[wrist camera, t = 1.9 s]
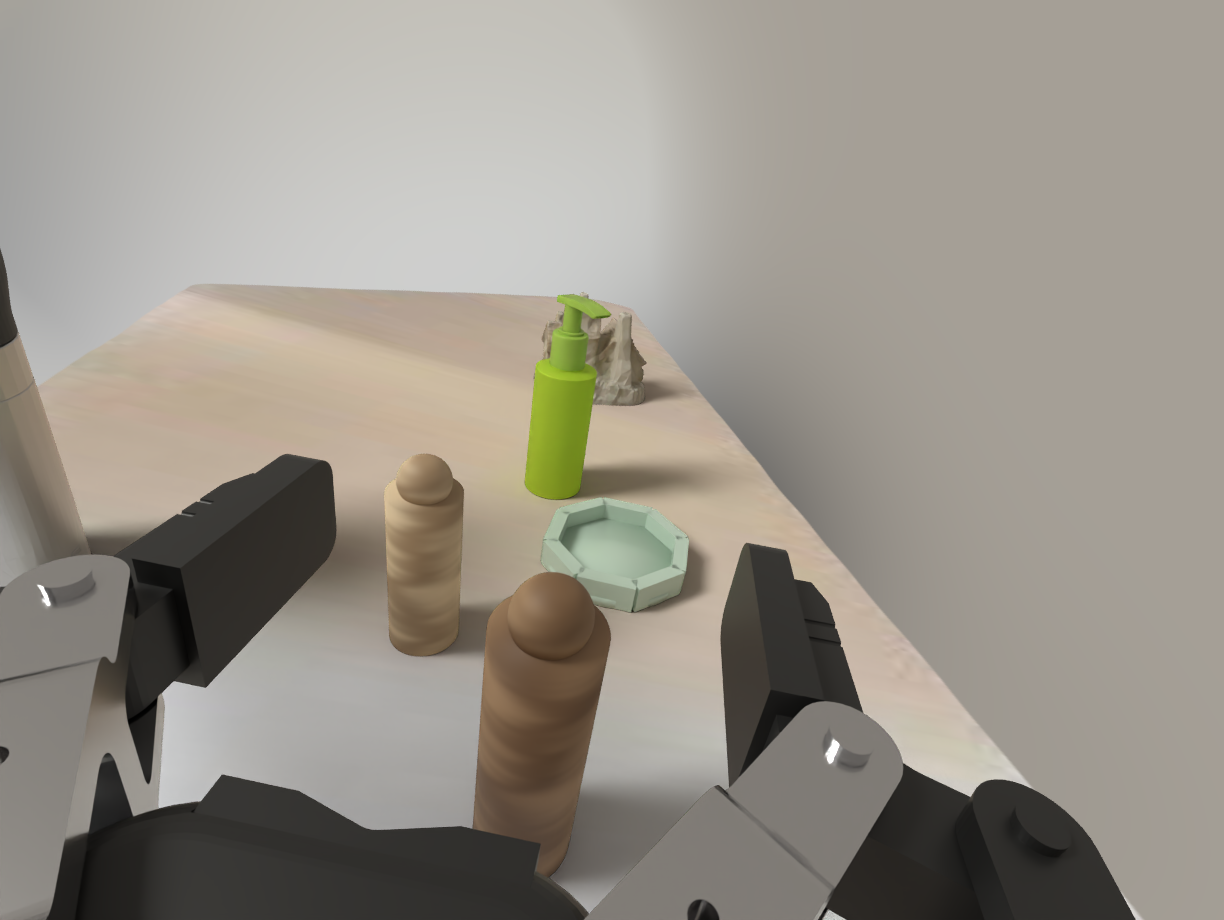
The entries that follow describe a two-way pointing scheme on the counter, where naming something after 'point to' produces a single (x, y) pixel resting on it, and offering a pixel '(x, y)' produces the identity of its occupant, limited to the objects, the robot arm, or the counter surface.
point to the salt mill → (423, 555)
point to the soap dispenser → (562, 406)
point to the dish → (617, 552)
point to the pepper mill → (538, 712)
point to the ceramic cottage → (608, 358)
